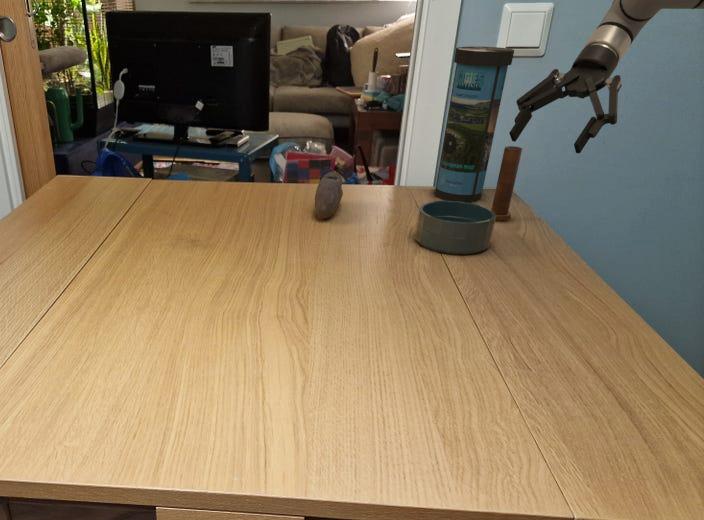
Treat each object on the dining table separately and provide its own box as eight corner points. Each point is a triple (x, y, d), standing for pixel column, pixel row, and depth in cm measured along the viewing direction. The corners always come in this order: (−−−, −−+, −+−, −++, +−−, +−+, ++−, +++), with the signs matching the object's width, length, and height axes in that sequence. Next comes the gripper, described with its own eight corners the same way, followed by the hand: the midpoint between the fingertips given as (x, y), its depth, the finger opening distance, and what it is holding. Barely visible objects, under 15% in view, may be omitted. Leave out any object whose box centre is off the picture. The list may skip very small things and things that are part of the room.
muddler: (514, 219, 134) (530, 149, 127) (498, 222, 133) (514, 151, 126) (497, 213, 138) (513, 144, 131) (482, 216, 136) (496, 146, 129)
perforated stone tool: (332, 225, 131) (335, 190, 127) (306, 222, 132) (308, 188, 129) (344, 203, 143) (347, 171, 140) (320, 201, 145) (322, 169, 141)
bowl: (504, 249, 120) (512, 216, 117) (448, 260, 115) (455, 227, 112) (453, 227, 130) (459, 197, 127) (399, 237, 125) (404, 206, 122)
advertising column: (481, 190, 152) (510, 47, 137) (486, 204, 143) (518, 52, 128) (431, 187, 155) (454, 45, 140) (432, 200, 145) (457, 50, 130)
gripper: (667, 76, 128) (608, 166, 127) (545, 64, 145) (492, 144, 144) (665, 47, 122) (603, 141, 122) (538, 38, 139) (483, 121, 139)
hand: (543, 143), depth 133 cm, fingers open, 13 cm apart
